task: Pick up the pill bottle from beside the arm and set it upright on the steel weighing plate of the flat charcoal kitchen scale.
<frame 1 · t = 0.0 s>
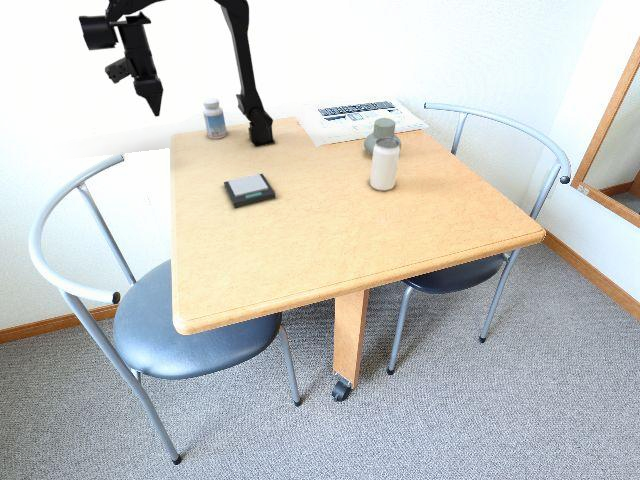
hand: (155, 110, 98), 15 cm above the table, tool pointing down, fingers open, 9 cm apart
air freshener: (381, 154, 110), on the table
scale: (249, 192, 94), on the table
can: (382, 185, 97), on the table
pill bottle: (217, 135, 121), on the table
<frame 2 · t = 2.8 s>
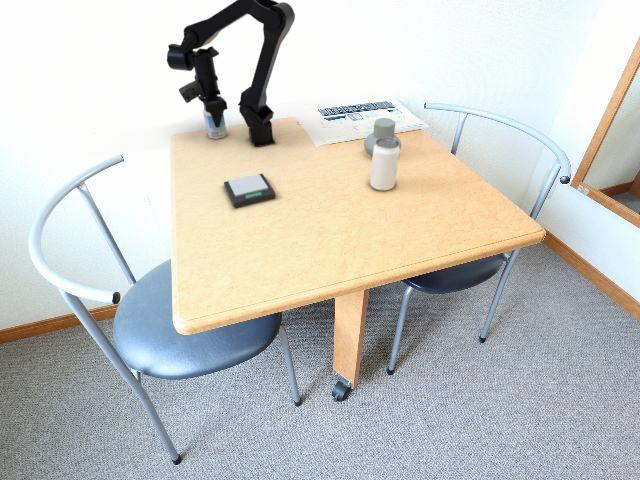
hand: (215, 123, 118), 4 cm above the table, tool pointing down, fingers closed on pill bottle, 6 cm apart
pill bottle: (217, 135, 121), on the table, touching gripper
everything else where it was.
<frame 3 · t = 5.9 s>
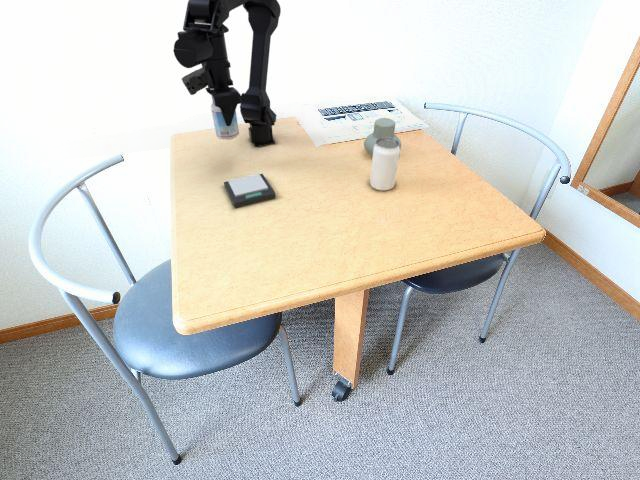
hand: (226, 121, 97), 13 cm above the table, tool pointing down, fingers closed on pill bottle, 6 cm apart
pill bottle: (228, 136, 99), point 9 cm above the table, touching gripper
everything else where it was.
when the fingers open (6 cm above the table, at t = 9.4 s): pill bottle stays where it is, resting on scale.
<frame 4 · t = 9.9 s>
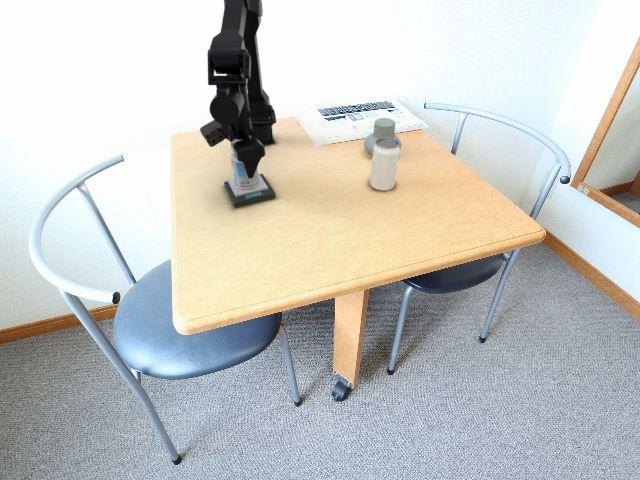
hand: (245, 169, 91), 6 cm above the table, tool pointing down, fingers open, 9 cm apart
pill bottle: (247, 184, 94), point 2 cm above the table, touching scale
everything else where it was.
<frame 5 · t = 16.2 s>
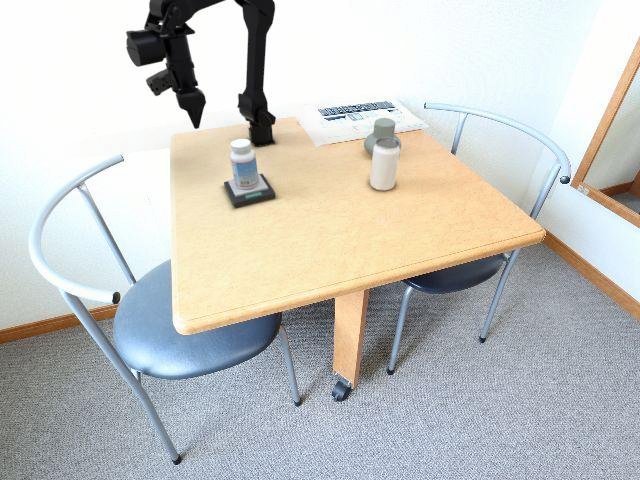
hand: (193, 121, 97), 13 cm above the table, tool pointing down, fingers open, 9 cm apart
nothing on the table moved.
at the end: pill bottle inside the target area on the scale (0.2 cm from its centre), point 2.0 cm above the scale's base; pill bottle tilted 0°; the gripper is holding nothing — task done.
